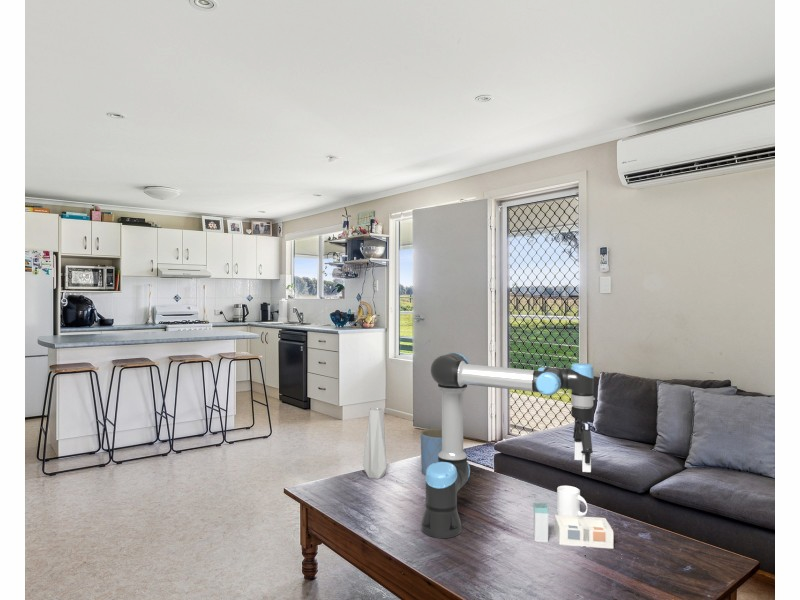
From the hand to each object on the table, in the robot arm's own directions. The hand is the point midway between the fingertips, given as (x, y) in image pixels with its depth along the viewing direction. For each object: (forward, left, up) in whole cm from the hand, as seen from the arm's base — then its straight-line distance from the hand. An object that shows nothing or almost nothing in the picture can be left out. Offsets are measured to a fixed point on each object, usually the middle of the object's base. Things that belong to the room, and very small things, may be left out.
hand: (582, 465), depth 180 cm
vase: (-86, +53, -27) cm, 104 cm away
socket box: (0, 0, -26) cm, 27 cm away
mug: (0, +19, -27) cm, 33 cm away
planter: (-56, +64, -27) cm, 89 cm away
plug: (-15, -2, -26) cm, 30 cm away
